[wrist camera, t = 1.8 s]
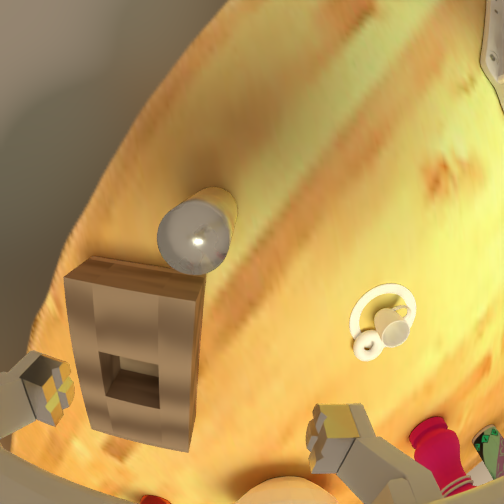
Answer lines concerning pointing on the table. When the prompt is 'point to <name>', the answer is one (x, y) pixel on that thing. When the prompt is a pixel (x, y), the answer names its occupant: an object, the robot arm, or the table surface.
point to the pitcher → (287, 492)
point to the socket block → (137, 348)
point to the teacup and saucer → (382, 323)
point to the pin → (198, 231)
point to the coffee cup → (153, 500)
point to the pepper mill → (440, 455)
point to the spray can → (491, 450)
